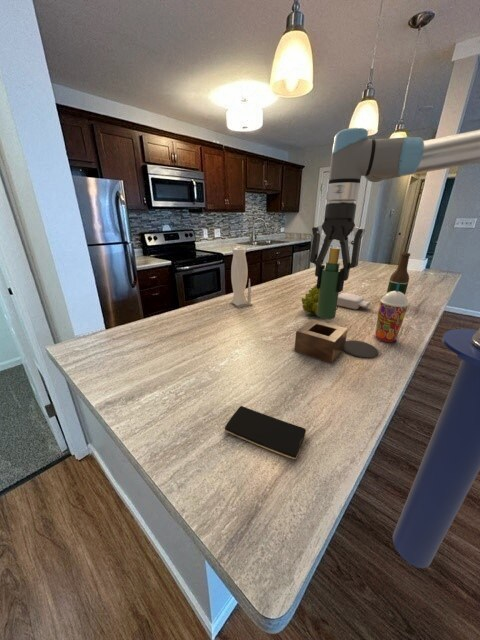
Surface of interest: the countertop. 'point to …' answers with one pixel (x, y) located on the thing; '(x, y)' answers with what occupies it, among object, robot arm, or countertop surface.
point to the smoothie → (391, 315)
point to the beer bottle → (400, 275)
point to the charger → (352, 301)
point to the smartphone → (266, 432)
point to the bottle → (329, 286)
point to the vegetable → (311, 301)
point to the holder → (320, 340)
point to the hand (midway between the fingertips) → (329, 289)
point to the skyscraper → (240, 277)
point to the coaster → (360, 349)
